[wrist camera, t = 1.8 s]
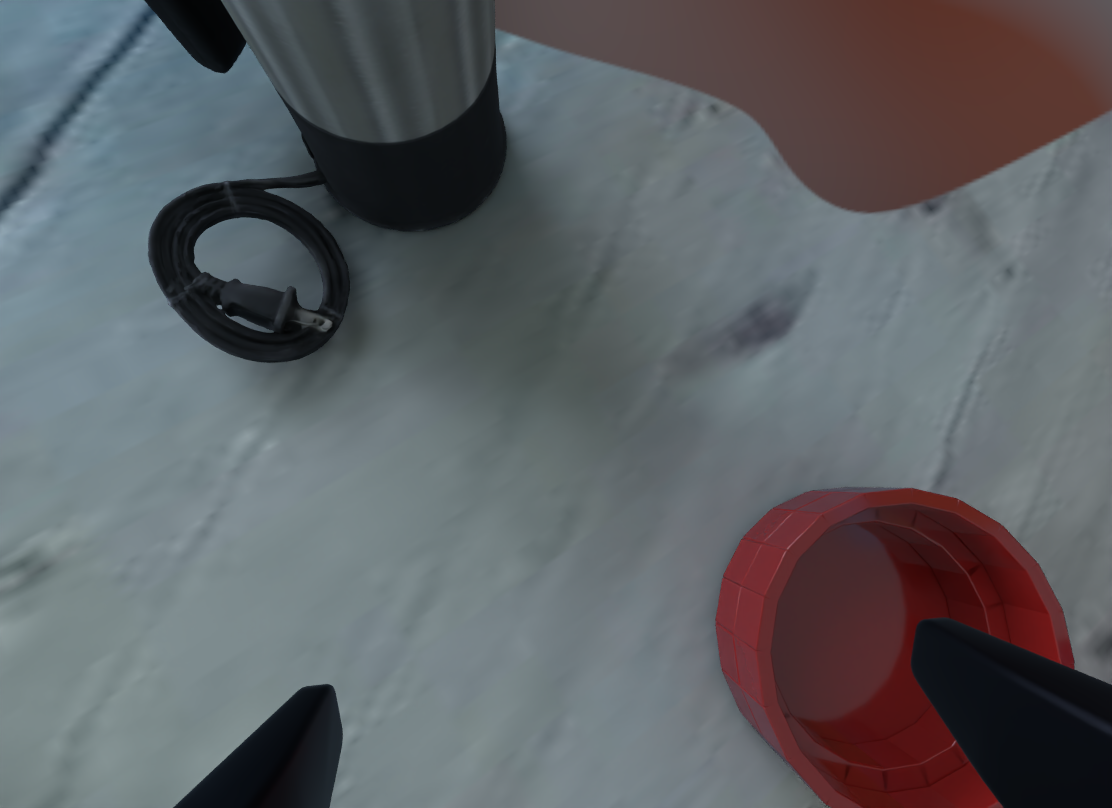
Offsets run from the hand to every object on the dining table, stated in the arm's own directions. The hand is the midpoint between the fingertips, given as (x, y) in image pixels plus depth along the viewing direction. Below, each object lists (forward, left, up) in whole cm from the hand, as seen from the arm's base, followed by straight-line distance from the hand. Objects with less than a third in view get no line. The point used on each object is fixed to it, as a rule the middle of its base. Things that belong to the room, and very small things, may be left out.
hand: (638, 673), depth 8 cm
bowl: (-1, -13, -16) cm, 21 cm away
